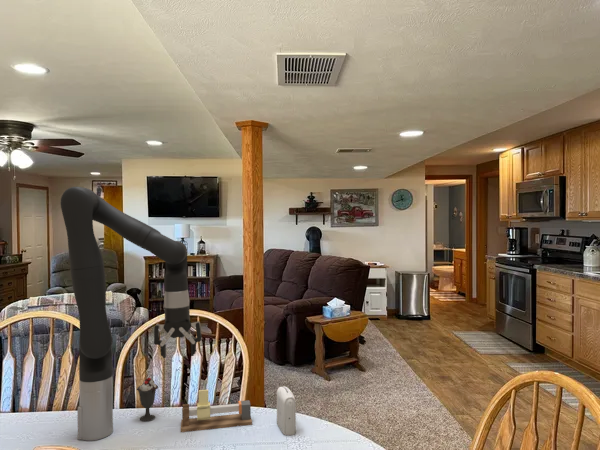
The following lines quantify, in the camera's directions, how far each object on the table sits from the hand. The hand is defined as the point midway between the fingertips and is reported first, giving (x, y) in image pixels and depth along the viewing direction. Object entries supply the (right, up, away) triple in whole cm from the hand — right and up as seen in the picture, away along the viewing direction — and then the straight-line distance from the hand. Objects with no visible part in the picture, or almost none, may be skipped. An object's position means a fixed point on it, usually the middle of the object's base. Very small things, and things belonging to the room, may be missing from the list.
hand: (178, 356), depth 139 cm
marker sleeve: (+7, -20, +2) cm, 21 cm away
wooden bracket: (+11, -22, +3) cm, 25 cm away
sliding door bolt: (+12, -21, +3) cm, 24 cm away
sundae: (-12, -23, +7) cm, 27 cm away
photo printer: (+34, -22, -1) cm, 40 cm away
